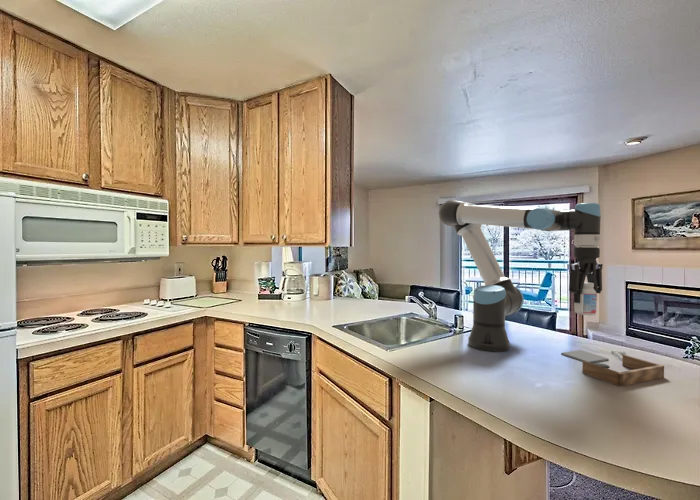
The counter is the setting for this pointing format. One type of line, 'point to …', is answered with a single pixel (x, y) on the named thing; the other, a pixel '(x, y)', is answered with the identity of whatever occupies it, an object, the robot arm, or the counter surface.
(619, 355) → the crook tool
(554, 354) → the counter surface
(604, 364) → the disc
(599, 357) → the coaster
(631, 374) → the cubby
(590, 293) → the pill bottle
